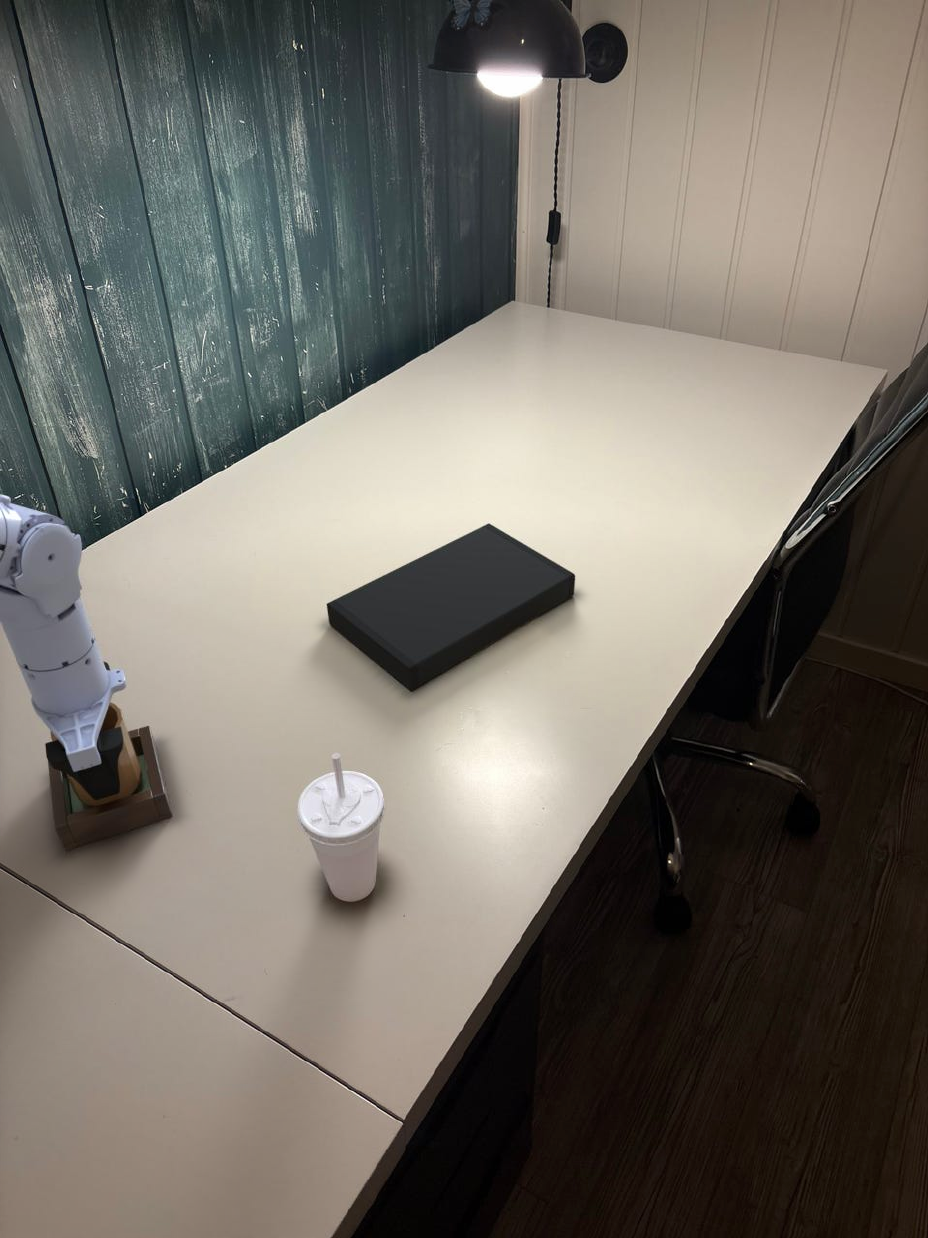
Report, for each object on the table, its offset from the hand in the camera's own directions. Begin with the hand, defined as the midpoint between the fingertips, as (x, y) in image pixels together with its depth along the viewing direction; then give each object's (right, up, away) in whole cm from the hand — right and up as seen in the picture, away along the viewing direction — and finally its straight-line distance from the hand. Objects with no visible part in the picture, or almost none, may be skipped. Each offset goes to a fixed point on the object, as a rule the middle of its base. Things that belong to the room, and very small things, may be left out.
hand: (102, 768), depth 78 cm
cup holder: (0, -3, +2) cm, 4 cm away
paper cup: (0, -1, +1) cm, 2 cm away
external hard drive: (+30, +14, +22) cm, 40 cm away
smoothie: (+22, -8, -5) cm, 24 cm away
